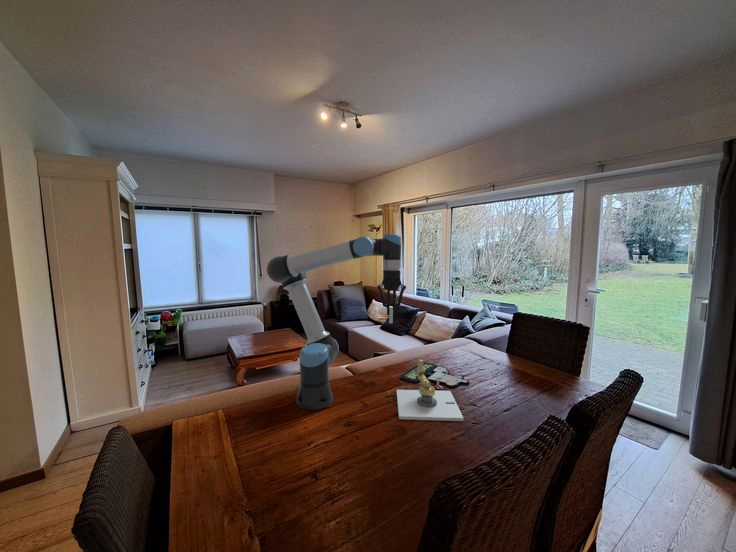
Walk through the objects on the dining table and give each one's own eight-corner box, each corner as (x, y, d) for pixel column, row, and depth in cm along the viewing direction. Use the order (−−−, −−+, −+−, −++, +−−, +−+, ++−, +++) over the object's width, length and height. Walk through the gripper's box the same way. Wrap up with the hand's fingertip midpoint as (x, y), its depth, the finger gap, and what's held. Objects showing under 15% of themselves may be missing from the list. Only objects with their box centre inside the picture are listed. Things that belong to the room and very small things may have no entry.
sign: (422, 361, 168) (476, 374, 150) (422, 364, 168) (476, 377, 150) (397, 377, 147) (456, 394, 129) (397, 380, 147) (456, 398, 129)
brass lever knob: (437, 395, 119) (437, 370, 118) (422, 397, 118) (422, 371, 117) (426, 382, 132) (426, 358, 131) (412, 383, 131) (412, 359, 130)
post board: (399, 419, 112) (399, 406, 112) (396, 392, 134) (396, 381, 133) (463, 421, 111) (463, 408, 110) (450, 393, 133) (450, 382, 132)
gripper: (406, 269, 133) (405, 321, 135) (377, 268, 134) (376, 320, 136) (407, 270, 126) (406, 324, 127) (376, 269, 126) (376, 324, 128)
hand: (390, 322), depth 132 cm, fingers closed
